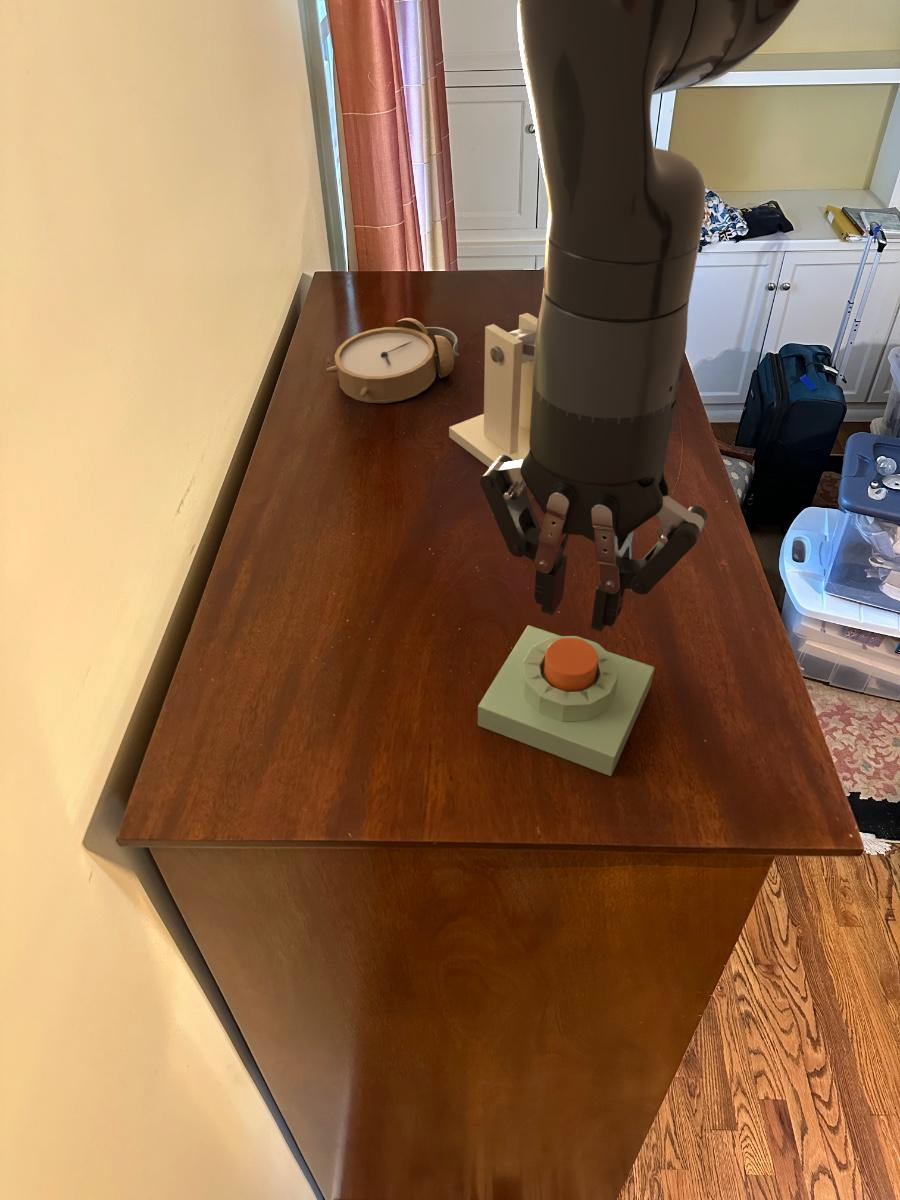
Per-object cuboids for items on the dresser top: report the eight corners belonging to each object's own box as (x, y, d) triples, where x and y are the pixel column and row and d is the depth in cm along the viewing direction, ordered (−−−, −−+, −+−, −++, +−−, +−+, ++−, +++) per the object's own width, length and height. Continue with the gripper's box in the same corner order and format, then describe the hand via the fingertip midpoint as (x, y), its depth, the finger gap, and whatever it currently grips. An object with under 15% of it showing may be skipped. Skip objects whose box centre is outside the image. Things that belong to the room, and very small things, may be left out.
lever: (632, 365, 73) (630, 337, 72) (583, 385, 71) (580, 355, 70) (535, 349, 83) (532, 324, 82) (489, 365, 81) (486, 339, 80)
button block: (650, 686, 64) (658, 649, 61) (611, 777, 58) (618, 740, 55) (526, 644, 67) (529, 607, 65) (477, 725, 62) (477, 688, 59)
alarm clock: (313, 352, 97) (419, 295, 102) (325, 388, 101) (427, 332, 105) (367, 392, 91) (478, 329, 95) (377, 429, 94) (483, 367, 99)
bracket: (584, 456, 87) (597, 336, 78) (514, 487, 83) (519, 365, 74) (517, 410, 93) (522, 295, 84) (448, 436, 89) (446, 319, 81)
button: (602, 664, 61) (605, 646, 60) (585, 699, 59) (587, 682, 57) (555, 648, 62) (556, 630, 61) (536, 681, 60) (537, 664, 59)
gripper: (452, 379, 45) (455, 618, 56) (722, 442, 40) (664, 689, 52) (510, 321, 50) (502, 552, 61) (757, 371, 45) (697, 611, 57)
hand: (576, 613), depth 56 cm, fingers open, 3 cm apart
